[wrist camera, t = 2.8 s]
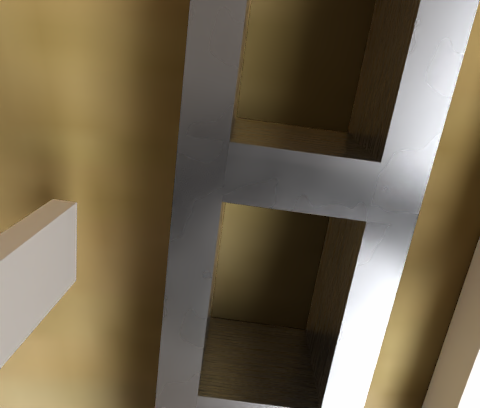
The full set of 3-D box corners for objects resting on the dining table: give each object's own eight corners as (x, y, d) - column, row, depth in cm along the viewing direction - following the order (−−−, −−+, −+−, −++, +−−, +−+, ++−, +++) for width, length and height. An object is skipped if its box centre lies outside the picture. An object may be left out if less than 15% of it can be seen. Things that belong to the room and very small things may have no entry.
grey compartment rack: (295, 504, 20) (305, 612, 16) (161, 487, 20) (138, 591, 16) (451, -141, 12) (545, -232, 8) (227, -174, 12) (214, -281, 8)
